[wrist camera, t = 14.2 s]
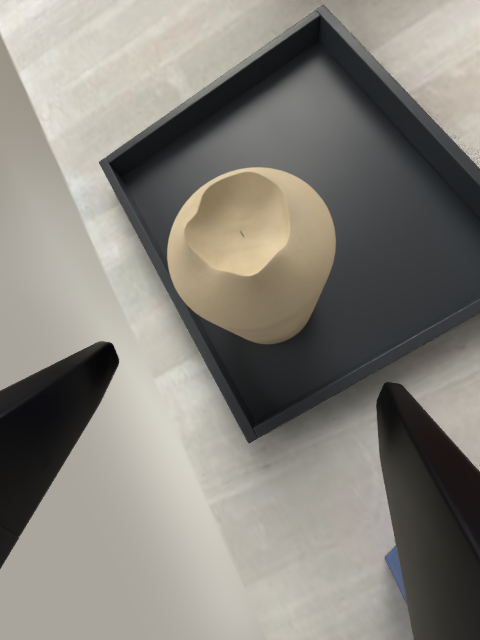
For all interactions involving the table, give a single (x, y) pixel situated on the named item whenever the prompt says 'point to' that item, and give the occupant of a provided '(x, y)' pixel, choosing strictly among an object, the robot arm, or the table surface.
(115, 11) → the table surface
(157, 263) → the tray
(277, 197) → the candle
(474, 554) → the robot arm
